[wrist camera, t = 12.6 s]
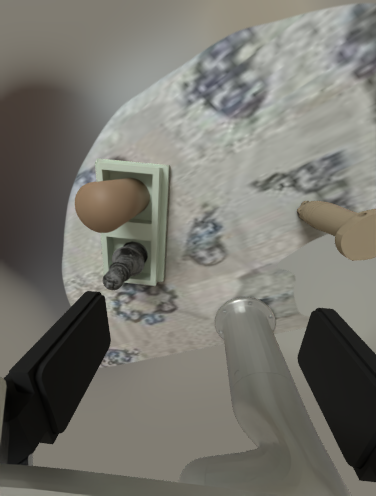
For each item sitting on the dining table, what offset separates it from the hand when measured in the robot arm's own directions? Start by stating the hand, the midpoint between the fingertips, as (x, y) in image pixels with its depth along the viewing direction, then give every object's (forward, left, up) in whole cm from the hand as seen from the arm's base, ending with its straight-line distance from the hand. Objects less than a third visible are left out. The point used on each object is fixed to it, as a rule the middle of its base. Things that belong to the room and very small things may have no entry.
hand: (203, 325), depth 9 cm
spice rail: (-4, +13, -29) cm, 32 cm away
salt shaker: (-10, +12, -28) cm, 32 cm away
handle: (+2, -17, -29) cm, 34 cm away
